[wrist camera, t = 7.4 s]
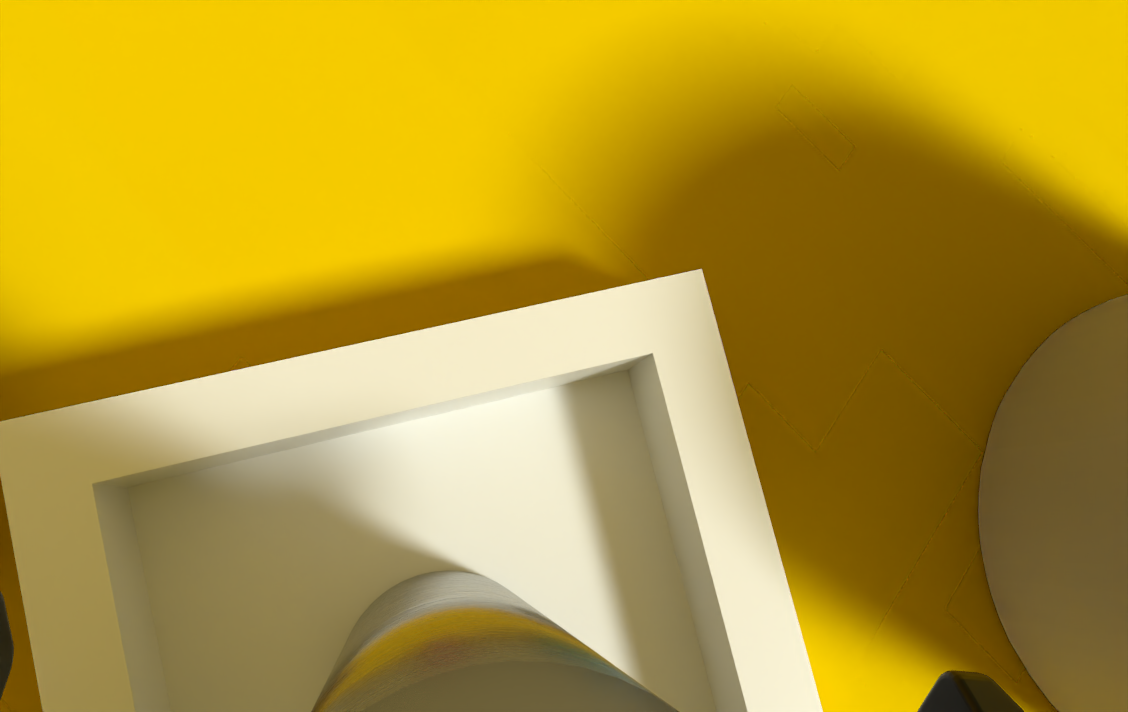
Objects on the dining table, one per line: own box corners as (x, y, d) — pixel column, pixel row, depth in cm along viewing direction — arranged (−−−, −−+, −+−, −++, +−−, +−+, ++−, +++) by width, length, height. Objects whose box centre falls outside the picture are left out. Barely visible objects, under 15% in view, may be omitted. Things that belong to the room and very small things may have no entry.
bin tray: (823, 898, 18) (890, 959, 15) (179, 1126, 16) (137, 1239, 13) (664, 300, 19) (702, 269, 17) (50, 437, 17) (-10, 423, 14)
